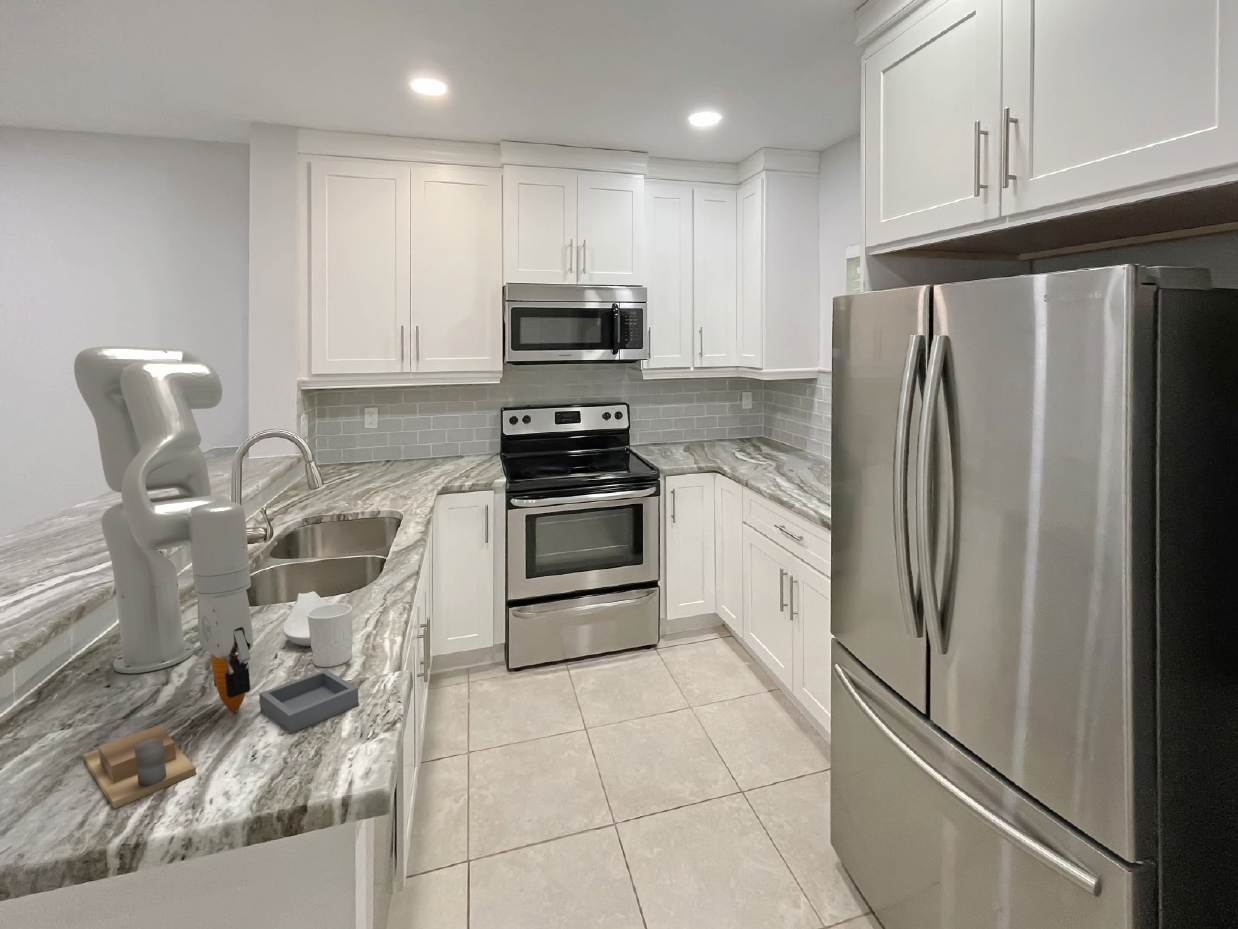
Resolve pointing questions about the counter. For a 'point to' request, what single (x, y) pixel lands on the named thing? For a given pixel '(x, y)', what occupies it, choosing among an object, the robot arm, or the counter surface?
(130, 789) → the board
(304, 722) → the tray
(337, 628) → the white cup
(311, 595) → the spoon rest
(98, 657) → the counter surface
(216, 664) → the carrot
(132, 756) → the wooden rectangular block
